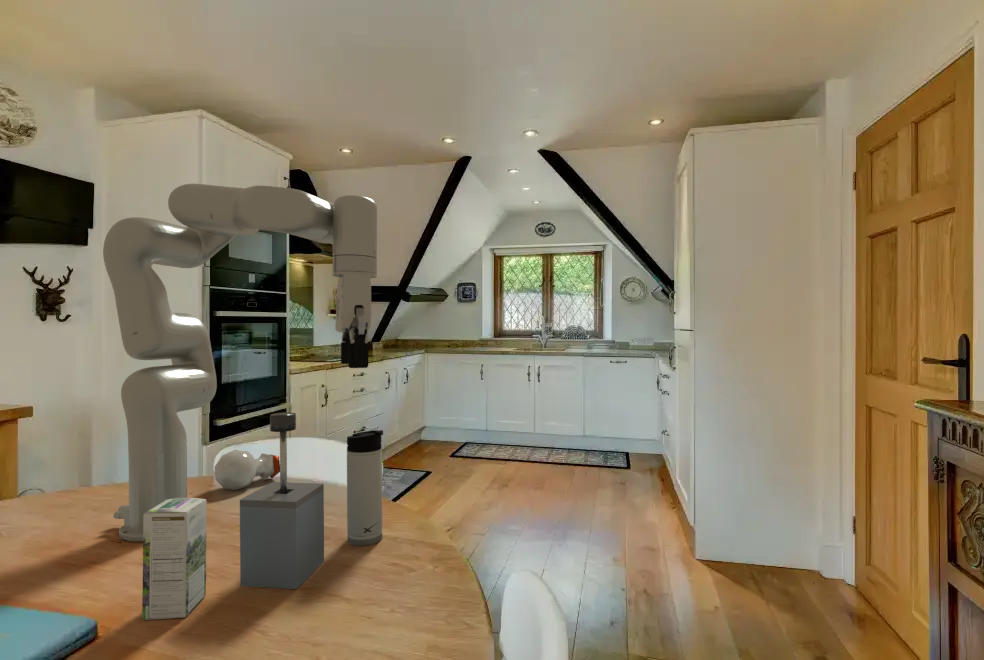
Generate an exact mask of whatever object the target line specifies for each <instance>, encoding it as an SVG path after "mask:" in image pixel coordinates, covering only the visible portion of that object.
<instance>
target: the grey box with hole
mask: <svg viewBox="0 0 984 660" xmlns="http://www.w3.org/2000/svg"><path fill="white" fill-rule="evenodd" d="M324 485H325V484H324V483H316V482H313V483H312V482H289V481H287V494H280V481H272V482H270V483H269V484H266V485H264V486H263V487H261V488H258V489H257V490H255V491H254V492H251V493H250V494H248V495H246V496H243V497H242V498H240V499H239V556H240V557H239V562H240V564H239V566H240V567H239V569H240V571H239V572H240V573H239V574H240V575H239V577H240V587H255V588H270V589H286V590H297V589H298V588H300V587H301V585H303V583H304V582H306V580H307V579H309V577H311V576H312V575H313V573H315V572H316V571H317V570H318V569H319V568H320V567H321V566H322V565H323V564H324V563H325V514H324V512H325V505H324V503H325V495H324V490H325V488H324Z"/></svg>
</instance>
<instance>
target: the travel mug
mask: <svg viewBox="0 0 984 660" xmlns="http://www.w3.org/2000/svg"><path fill="white" fill-rule="evenodd" d="M383 435H384V430H383V429H382V430H367V431H366V430H365V431H361V432H355V433H352V434H351V435H349V436H348V435H347V437H346V442H347V443H346V445H347V446H346V502H347V503H346V507H347V510H346V513H347V514H346V518H347V519H346V521H347V522H346V524H347V525H346V526H347V527H346V529H347V531H346V532H347V536H346V537H347V542H348V544H350V545H352V546H356V547H365V546H366V547H367V546H371V545H375V544H377V543H378V542H380V541H381V540H382V538H383V451H382V450H383V448H382V436H383Z"/></svg>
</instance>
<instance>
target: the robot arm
mask: <svg viewBox="0 0 984 660" xmlns="http://www.w3.org/2000/svg"><path fill="white" fill-rule="evenodd" d="M167 200H168V201H167V205H168V206H167V207H168V210H169V211H170V213H171V216H172V217H173V218H174V219H175V220H176V221H177V222H179V223H180V224H181V225H178V224H174V223H170V222H166V221H162V220H157V219H153V218H148V217H136V216H135V217H131V216H130V217H126V218H122V219H120V220H118V221H117V222H115V223H114V224H112V226H111V227H110V229H109V230H108V231H107V234H106V236H105V239H104V242H103V249H102V254H103V255H102V256H103V262H104V267H105V269H106V274H107V275H108V278H109V280H110V284H111V286H112V290H113V294H114V298H115V299H114V300H115V306H116V312H117V317H118V325H119V330H120V335H121V340H122V341H121V342H122V346H123V348H124V351H125V353H126V354H127V355H128V356H130V357H131V358H132V359H135V360H139V361H158V360H159V361H160V360H171V364H170V365H160V366H159V365H157V366H148V367H145V368H140V369H138V370H136V371H134V372H132V373H130V374H129V375H128V376H127V378H125V380H124V381H123V383H122V386H121V389H120V397H121V404H122V407H123V411H124V414H125V419H126V426H127V441H128V443H127V453H128V504H122V505H119V507H118V509H117V510H116V511H115V512H114V513H113V519H115V520H117V519H118V520H123V521H124V523H123V525H122V526H121V527H120V528H119V530H118V537H119V539H120V540H123V539H124V540H123V541H126V540H127V542H143V516H144V513H146V512H147V511H149V510H151V509H152V508H154V507H156V506H157V505H159V504H161V503H162V502H164V501H166V500H168V499H175V498H188V445H187V442H188V440H187V432H186V429H185V426H184V425H183V423H182V421H181V419H180V418H179V416H178V413H180V412H184V411H189V410H195V409H199V408H202V407H205V406H206V405H208V404H210V402H211V401H213V399H214V398H215V395H216V392H217V387H218V384H217V383H218V382H217V373H216V368H215V362H214V357H213V356H214V355H213V352H212V345H211V344H212V343H211V340H210V339H211V338H210V334H209V331H208V329H207V327H206V326H205V324H204V323H203V321H201V319H199V317H197V316H195V315H193V314H190V313H185V312H184V313H183V312H172V311H171V307H170V303H169V299H168V291H167V288H166V286H165V285H164V282H163V281H162V279H161V278H160V276H159V275H158V274H157V273H156V272H155V270H154V269H153V267H152V266H153V265H160V266H164V267H165V266H166V267H173V268H179V269H193V268H198V267H200V266H202V265H203V264H205V263H207V262H208V261H209V260H210V259H212V257H214V256H215V255H216V254H217V253H219V251H221V250H222V249H223V248H225V247H226V246H227V245H228V244H229V243H230V242H232V241H233V240H234V239H235V238H236V237H237V236H239V235H241V236H251V235H254V234H256V233H258V232H259V231H269V232H275V233H276V232H277V233H283V234H288V235H291V236H297V237H299V238H303V239H307V240H309V241H313V242H316V243H319V244H332V276H333V277H335V278H337V287H336V309H335V329H334V330H335V331H336V332H337V333H341V342H340V362H341V363H340V364H342V365H348V368H349V369H367V368H368V367H369V337H368V332H369V331H370V329H371V326H372V325H371V323H372V281H371V280H372V279H376V278H377V276H378V274H377V270H378V205H377V203H376V202H375V201H374V200H373V199H372V198H369V197H367V196H363V195H357V194H356V195H354V194H353V195H351V194H350V195H349V194H347V195H341V196H338V197H337V198H335V200H334V202H331V201H329V200H325V199H322V198H321V197H317V196H316V195H313V194H311V193H308V192H307V191H306V192H305V191H304V190H300V189H295V188H292V187H283V186H270V185H252V186H247V187H246V188H243V187H234V186H233V187H231V186H224V185H223V186H222V185H213V184H205V183H204V184H203V183H202V184H201V183H187V184H182V185H179V186H177V187H175V188H174V189H173V190H172V192H170V194H169V196H168V199H167ZM182 225H183V226H182Z"/></svg>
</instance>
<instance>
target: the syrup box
mask: <svg viewBox="0 0 984 660" xmlns="http://www.w3.org/2000/svg"><path fill="white" fill-rule="evenodd" d="M207 503H208V502H207V499H206V498H198V497H187V498H175V499H168V500H166V501H164V502H162V503H161V504H159V505H157V506H156V507H154V508H152V509H151V510H149V511H147V512H146V513H144V516H143V541H142V598H141V606H142V609H141V614H142V615H141V619H142V620H144V621H145V620H146V621H148V620H149V621H150V620H151V621H152V620H167V619H168V620H169V619H180V618H187V617H188V616H189V614H191V612H192V611H194V610H195V608H196V607H197V606H198V605H199V603H201V601H202V600H203V599H204V598H205V597H206V595H207V594H206V593H207V592H206V591H207V590H206V589H207V587H206V586H207V513H208V512H207V506H208V505H207Z"/></svg>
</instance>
